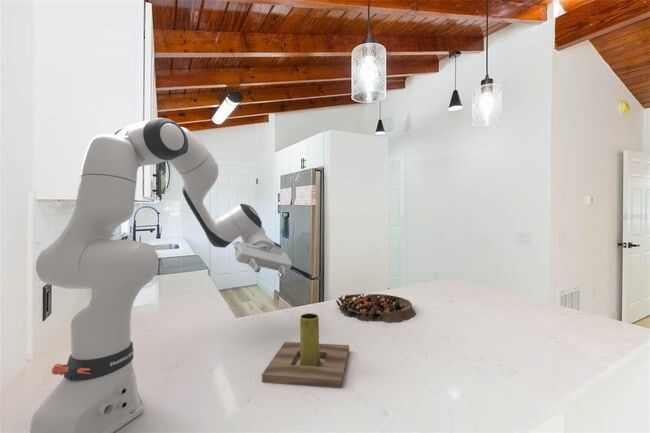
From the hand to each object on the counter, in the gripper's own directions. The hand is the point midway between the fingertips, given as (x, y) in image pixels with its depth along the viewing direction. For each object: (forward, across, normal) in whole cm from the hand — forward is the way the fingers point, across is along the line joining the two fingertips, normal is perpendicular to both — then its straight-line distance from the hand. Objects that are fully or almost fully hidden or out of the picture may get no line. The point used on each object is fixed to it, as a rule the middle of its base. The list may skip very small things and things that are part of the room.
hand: (270, 273), depth 103 cm
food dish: (0, +60, +9) cm, 61 cm away
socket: (+26, +10, +10) cm, 30 cm away
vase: (+26, +11, +11) cm, 30 cm away
